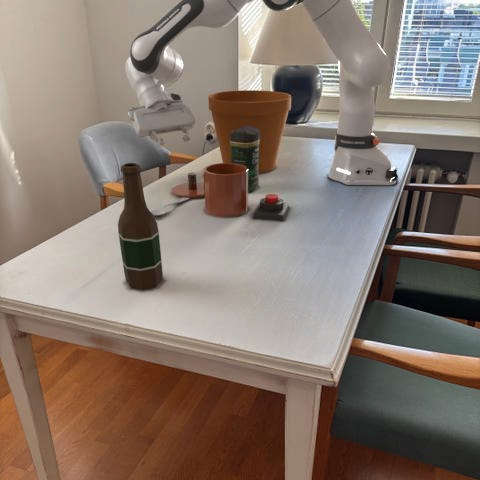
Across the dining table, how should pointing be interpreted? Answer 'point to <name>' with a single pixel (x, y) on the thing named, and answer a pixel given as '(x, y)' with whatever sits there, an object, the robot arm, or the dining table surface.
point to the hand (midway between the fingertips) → (174, 143)
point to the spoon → (161, 209)
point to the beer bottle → (138, 234)
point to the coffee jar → (246, 152)
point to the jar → (226, 189)
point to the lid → (189, 188)
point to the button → (272, 198)
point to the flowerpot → (251, 120)
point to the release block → (271, 210)
